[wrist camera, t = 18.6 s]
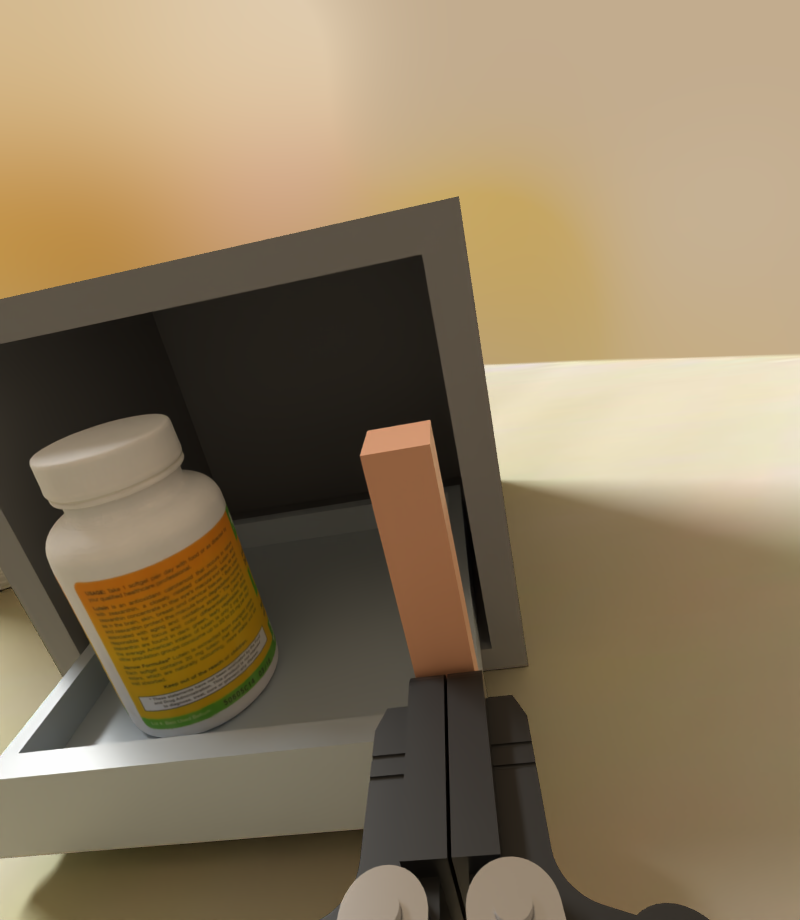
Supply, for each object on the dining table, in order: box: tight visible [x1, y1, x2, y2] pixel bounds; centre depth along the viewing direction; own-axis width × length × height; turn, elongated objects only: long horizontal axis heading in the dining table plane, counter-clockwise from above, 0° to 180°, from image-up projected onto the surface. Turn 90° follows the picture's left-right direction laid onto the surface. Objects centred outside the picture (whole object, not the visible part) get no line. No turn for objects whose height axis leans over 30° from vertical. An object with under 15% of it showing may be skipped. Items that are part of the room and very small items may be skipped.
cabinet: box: [0, 197, 528, 677], centre depth 26 cm, size 18×16×16 cm
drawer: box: [0, 420, 483, 858], centre depth 20 cm, size 15×16×11 cm
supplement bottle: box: [30, 414, 278, 738], centre depth 19 cm, size 5×5×10 cm
